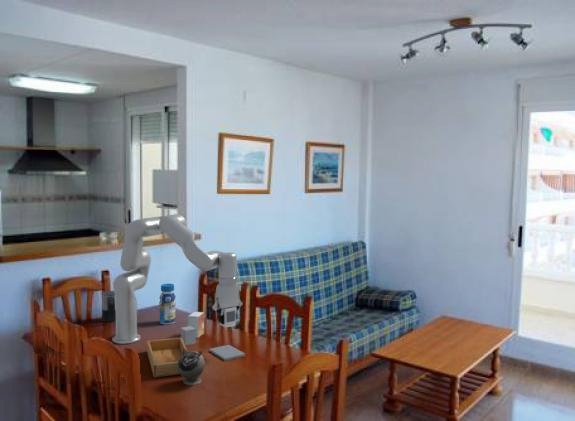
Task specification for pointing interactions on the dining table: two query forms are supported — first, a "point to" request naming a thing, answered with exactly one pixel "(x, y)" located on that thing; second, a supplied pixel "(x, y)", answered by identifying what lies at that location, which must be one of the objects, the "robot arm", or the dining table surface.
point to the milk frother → (108, 306)
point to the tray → (165, 356)
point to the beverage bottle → (167, 304)
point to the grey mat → (227, 352)
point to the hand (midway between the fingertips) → (227, 321)
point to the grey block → (188, 335)
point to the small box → (197, 322)
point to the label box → (229, 317)
